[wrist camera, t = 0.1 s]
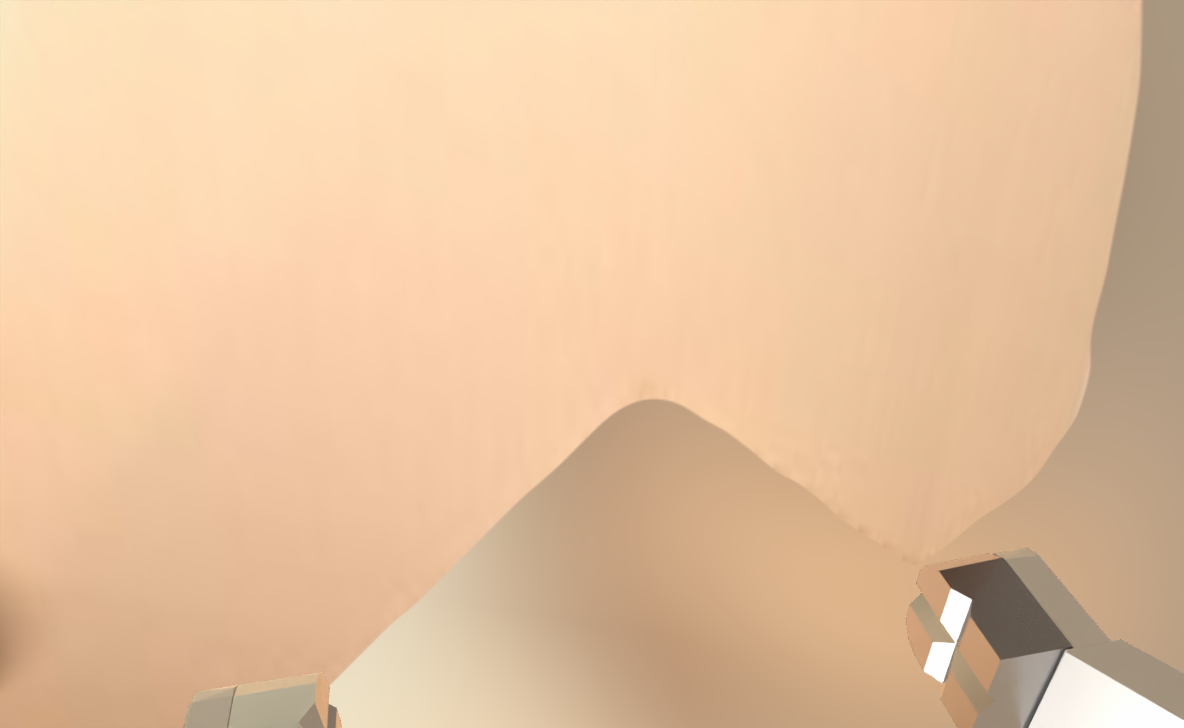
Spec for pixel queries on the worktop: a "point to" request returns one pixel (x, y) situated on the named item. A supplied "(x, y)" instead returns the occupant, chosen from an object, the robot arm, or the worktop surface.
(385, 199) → the worktop surface
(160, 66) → the worktop surface
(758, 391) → the worktop surface
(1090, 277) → the worktop surface
